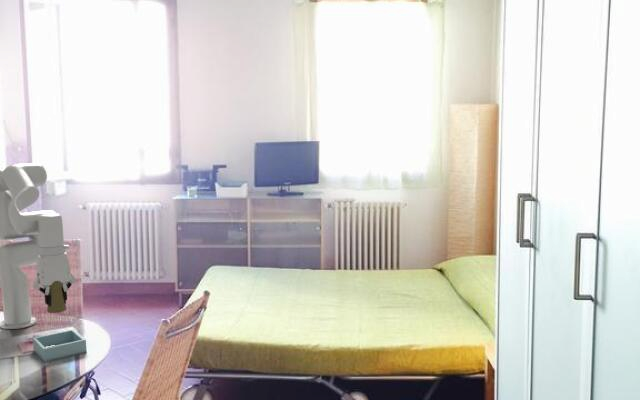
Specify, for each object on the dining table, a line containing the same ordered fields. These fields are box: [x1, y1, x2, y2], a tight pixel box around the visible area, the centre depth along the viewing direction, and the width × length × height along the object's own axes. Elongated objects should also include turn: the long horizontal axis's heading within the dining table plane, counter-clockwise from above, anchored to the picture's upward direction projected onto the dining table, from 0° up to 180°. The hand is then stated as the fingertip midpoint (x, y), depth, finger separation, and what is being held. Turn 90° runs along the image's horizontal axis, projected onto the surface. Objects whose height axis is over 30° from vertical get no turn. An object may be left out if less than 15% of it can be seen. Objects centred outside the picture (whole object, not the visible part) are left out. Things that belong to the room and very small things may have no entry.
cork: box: [46, 281, 67, 314], centre depth 224 cm, size 6×6×11 cm
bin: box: [32, 329, 87, 363], centre depth 226 cm, size 14×14×4 cm
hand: (56, 303), depth 224 cm, fingers closed on cork, 4 cm apart
